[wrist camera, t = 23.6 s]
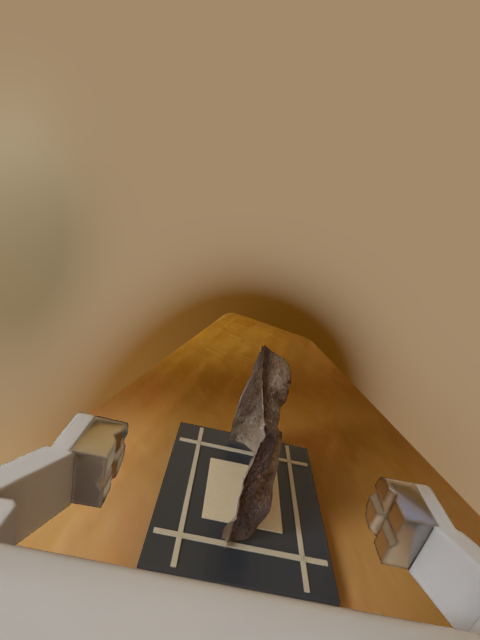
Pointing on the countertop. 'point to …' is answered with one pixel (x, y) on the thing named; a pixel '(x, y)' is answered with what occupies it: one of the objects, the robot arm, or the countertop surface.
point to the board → (220, 508)
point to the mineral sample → (259, 441)
